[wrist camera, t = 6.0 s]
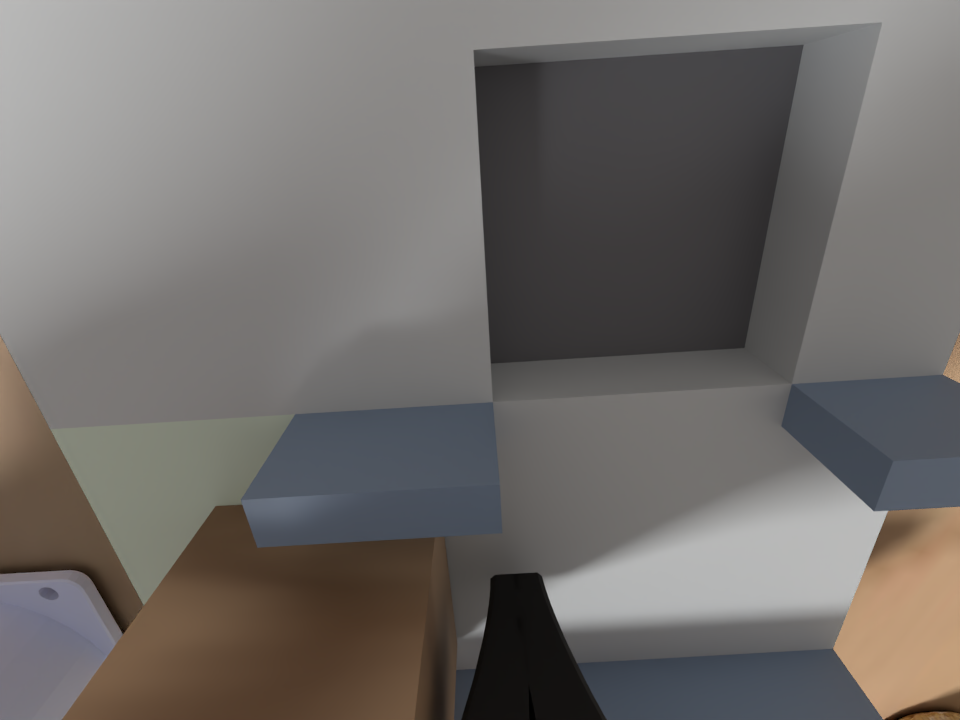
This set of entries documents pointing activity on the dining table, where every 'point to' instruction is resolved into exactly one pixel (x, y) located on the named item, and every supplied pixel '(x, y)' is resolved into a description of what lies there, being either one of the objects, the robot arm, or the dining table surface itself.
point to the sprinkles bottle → (933, 716)
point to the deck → (506, 302)
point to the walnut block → (286, 634)
